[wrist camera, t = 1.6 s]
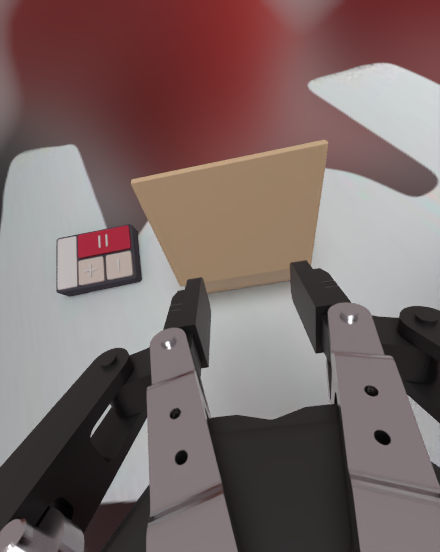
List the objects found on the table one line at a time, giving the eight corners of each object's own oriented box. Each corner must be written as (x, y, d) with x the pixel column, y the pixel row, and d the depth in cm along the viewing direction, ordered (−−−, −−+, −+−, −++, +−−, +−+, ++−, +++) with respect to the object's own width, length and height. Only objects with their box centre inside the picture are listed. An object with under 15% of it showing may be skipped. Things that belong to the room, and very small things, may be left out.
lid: (309, 260, 34) (310, 265, 34) (180, 281, 36) (180, 286, 35) (325, 139, 22) (328, 143, 22) (132, 179, 24) (130, 183, 24)
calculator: (135, 276, 45) (53, 292, 45) (143, 282, 49) (68, 297, 49) (130, 221, 48) (53, 236, 48) (139, 231, 52) (68, 245, 52)
